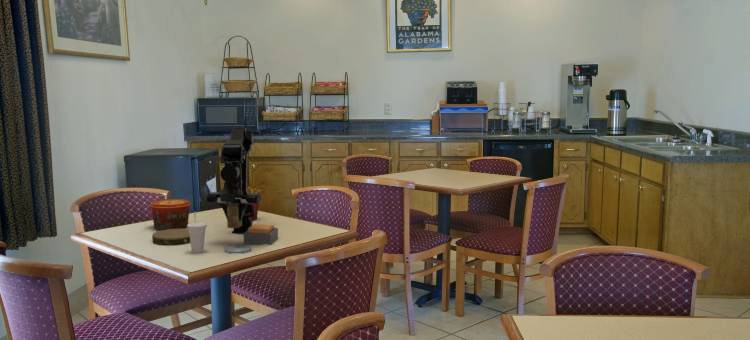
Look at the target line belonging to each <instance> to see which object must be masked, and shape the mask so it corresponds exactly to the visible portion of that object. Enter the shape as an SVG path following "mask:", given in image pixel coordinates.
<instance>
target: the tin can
mask: <svg viewBox="0 0 750 340" xmlns="http://www.w3.org/2000/svg"><path fill="white" fill-rule="evenodd" d="M151 236H152V243H153V244H154V245H158V246H166V247H167V246H168V247H169V246H181V245H184V246H185V245H188V244H191V242H190V236H189V230H188V228H185V229H168V230H162V231H159V230H157V231H156V232H153V233H152V235H151Z"/></svg>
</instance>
